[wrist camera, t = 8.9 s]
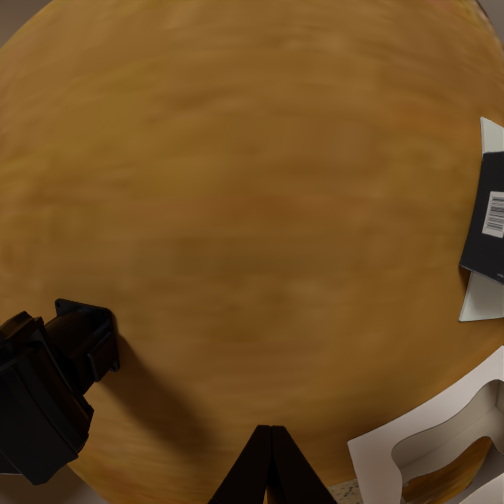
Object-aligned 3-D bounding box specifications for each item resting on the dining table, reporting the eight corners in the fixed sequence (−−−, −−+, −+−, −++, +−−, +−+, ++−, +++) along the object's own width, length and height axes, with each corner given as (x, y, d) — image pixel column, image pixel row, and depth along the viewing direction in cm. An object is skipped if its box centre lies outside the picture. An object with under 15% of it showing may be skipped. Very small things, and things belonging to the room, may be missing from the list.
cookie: (409, 453, 25) (411, 457, 24) (409, 482, 27) (410, 486, 26) (326, 484, 26) (327, 489, 25) (341, 508, 28) (342, 512, 27)
